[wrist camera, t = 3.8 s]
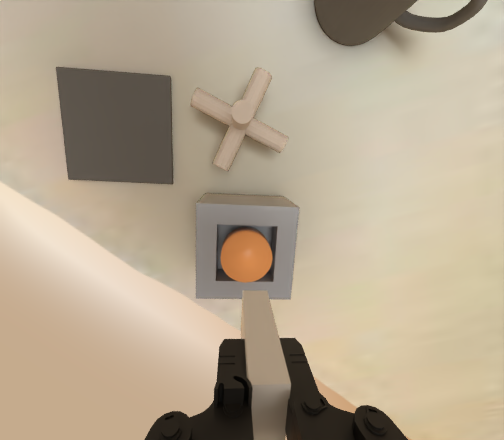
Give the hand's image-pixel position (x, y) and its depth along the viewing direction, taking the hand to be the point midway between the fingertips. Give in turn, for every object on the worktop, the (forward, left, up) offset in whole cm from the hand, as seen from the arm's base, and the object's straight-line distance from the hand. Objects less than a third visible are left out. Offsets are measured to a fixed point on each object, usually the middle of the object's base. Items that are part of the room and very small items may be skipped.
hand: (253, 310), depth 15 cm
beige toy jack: (-13, -1, -18) cm, 22 cm away
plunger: (0, 0, -11) cm, 11 cm away
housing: (0, 0, -18) cm, 18 cm away
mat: (-12, -15, -18) cm, 26 cm away
